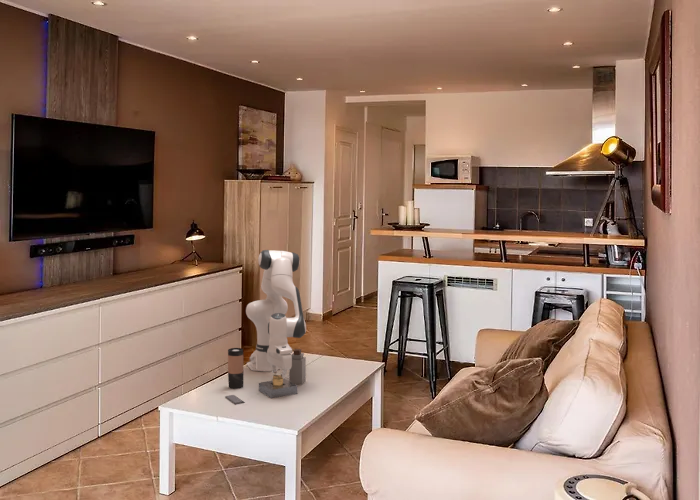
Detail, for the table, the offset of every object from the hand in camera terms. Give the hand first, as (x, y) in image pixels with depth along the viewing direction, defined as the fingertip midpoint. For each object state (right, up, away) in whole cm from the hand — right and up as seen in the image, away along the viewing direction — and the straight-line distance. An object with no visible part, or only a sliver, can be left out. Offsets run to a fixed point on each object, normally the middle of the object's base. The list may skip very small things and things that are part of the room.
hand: (278, 375), depth 325 cm
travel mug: (-23, -9, +10) cm, 26 cm away
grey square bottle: (+8, -8, +18) cm, 21 cm away
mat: (-17, -10, -7) cm, 21 cm away
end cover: (-1, -8, +1) cm, 9 cm away
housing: (-1, -9, +1) cm, 10 cm away
